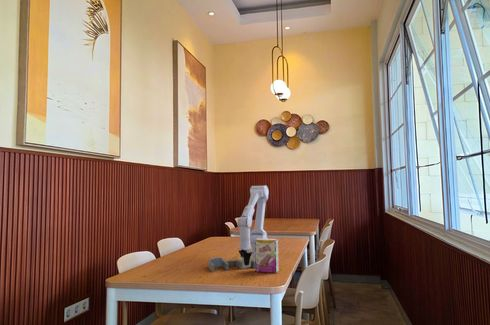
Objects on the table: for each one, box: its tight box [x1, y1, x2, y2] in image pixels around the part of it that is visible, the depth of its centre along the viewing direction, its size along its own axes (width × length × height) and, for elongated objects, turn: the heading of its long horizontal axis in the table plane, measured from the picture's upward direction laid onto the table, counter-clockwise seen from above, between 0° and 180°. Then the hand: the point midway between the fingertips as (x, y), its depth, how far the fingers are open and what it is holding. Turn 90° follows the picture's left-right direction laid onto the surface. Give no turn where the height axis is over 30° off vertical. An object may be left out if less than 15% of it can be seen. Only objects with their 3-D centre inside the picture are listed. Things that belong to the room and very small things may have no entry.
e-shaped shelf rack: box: [207, 256, 256, 273], centre depth 192 cm, size 24×12×5 cm, turn 106°
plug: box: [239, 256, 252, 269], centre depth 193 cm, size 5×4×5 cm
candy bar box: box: [255, 238, 280, 274], centre depth 181 cm, size 11×5×16 cm, turn 71°
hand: (245, 264), depth 193 cm, fingers closed on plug, 4 cm apart
